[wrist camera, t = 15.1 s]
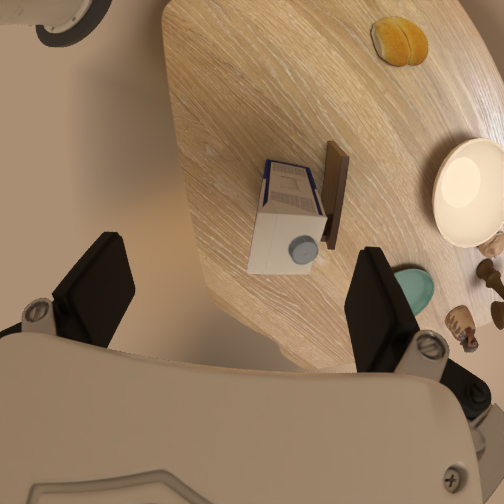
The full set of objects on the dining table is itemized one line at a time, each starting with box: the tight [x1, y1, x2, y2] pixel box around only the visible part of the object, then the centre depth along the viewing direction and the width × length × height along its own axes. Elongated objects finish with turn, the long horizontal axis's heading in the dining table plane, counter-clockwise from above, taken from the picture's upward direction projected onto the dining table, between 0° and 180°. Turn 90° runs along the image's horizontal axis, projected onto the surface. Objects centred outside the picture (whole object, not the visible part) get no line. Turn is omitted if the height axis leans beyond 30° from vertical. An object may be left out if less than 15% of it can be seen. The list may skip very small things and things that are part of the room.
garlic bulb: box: [479, 230, 504, 258], centre depth 41 cm, size 7×6×8 cm
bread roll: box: [371, 17, 428, 66], centre depth 27 cm, size 8×9×4 cm
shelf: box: [320, 141, 349, 250], centre depth 39 cm, size 10×13×10 cm
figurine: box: [445, 306, 478, 352], centre depth 51 cm, size 7×7×12 cm
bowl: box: [432, 138, 504, 248], centre depth 37 cm, size 20×20×7 cm
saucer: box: [394, 269, 434, 316], centre depth 52 cm, size 15×15×3 cm
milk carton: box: [247, 159, 327, 275], centre depth 35 cm, size 7×7×20 cm
